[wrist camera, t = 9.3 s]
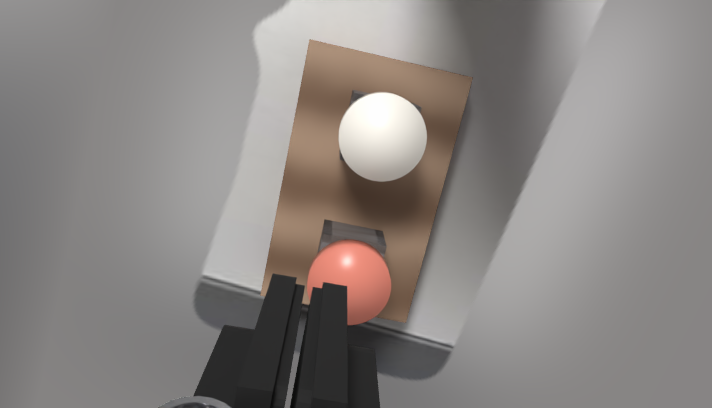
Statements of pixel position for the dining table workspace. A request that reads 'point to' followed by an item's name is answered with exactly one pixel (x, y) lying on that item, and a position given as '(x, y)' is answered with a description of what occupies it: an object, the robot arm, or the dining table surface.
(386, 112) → the cream button
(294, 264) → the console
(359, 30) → the dining table surface
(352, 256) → the red button
